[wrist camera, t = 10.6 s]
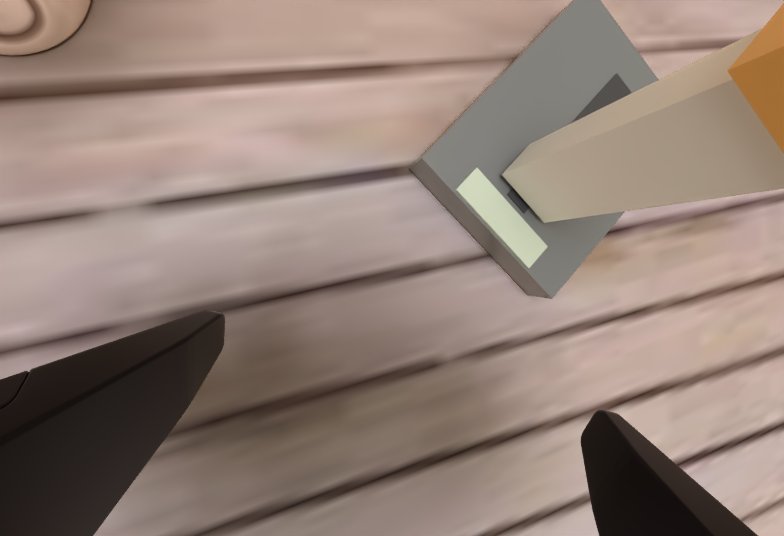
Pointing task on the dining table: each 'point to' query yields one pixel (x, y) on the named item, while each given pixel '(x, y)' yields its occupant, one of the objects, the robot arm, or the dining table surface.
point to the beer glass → (38, 24)
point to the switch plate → (524, 126)
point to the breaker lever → (668, 138)
